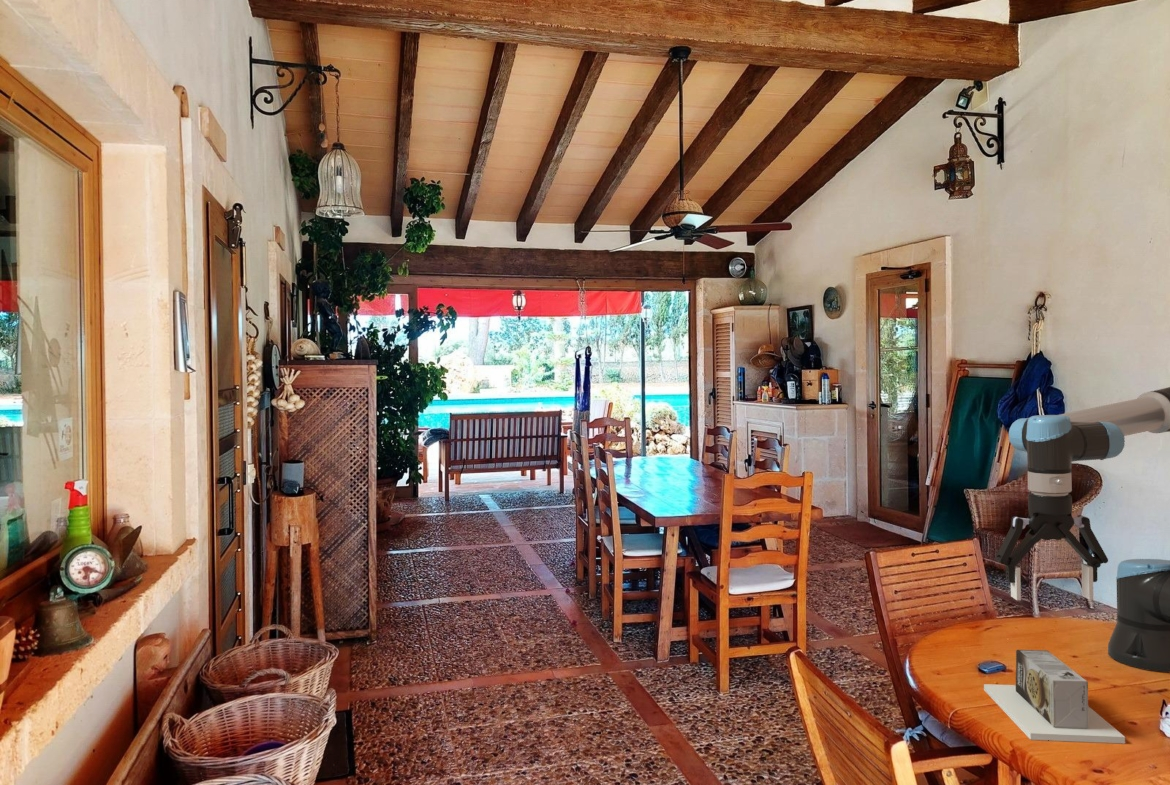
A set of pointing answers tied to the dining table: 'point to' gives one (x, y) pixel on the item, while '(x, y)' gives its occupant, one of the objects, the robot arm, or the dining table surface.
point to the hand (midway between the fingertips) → (1051, 598)
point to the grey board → (1041, 728)
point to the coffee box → (1052, 688)
